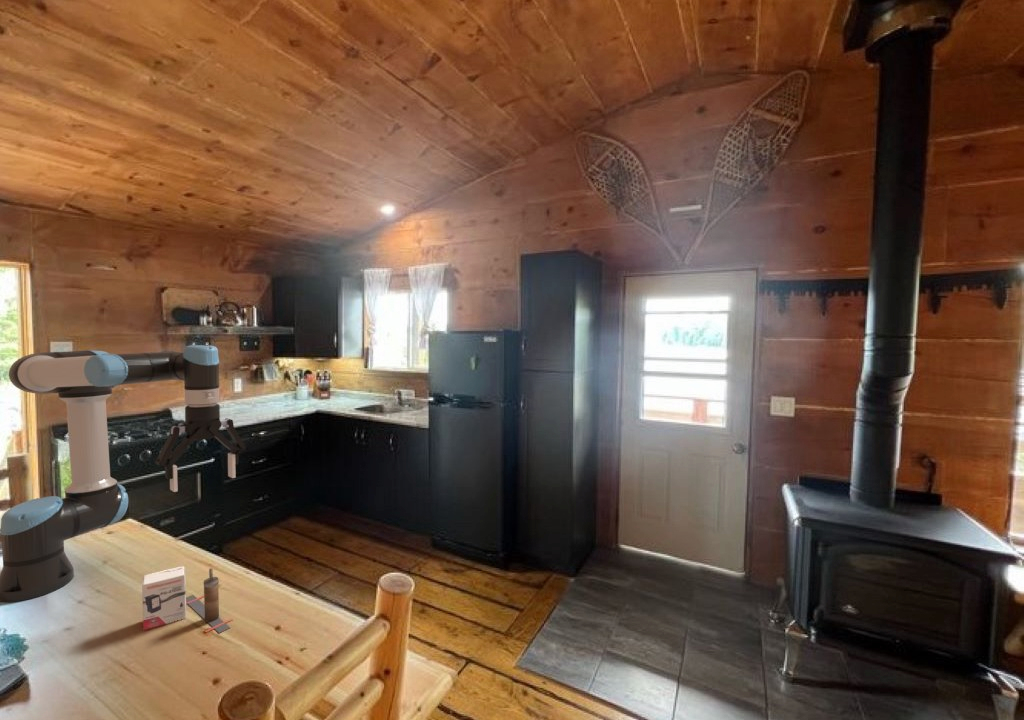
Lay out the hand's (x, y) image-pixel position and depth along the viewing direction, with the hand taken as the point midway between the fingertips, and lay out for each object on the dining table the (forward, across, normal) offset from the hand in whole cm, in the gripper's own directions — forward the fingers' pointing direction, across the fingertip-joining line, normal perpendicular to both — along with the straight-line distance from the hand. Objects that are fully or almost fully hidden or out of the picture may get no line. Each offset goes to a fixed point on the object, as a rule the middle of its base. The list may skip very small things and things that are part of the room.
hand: (204, 483), depth 120 cm
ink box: (+32, -10, -2) cm, 34 cm away
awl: (+31, -3, -11) cm, 33 cm away
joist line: (+32, -3, -7) cm, 33 cm away
